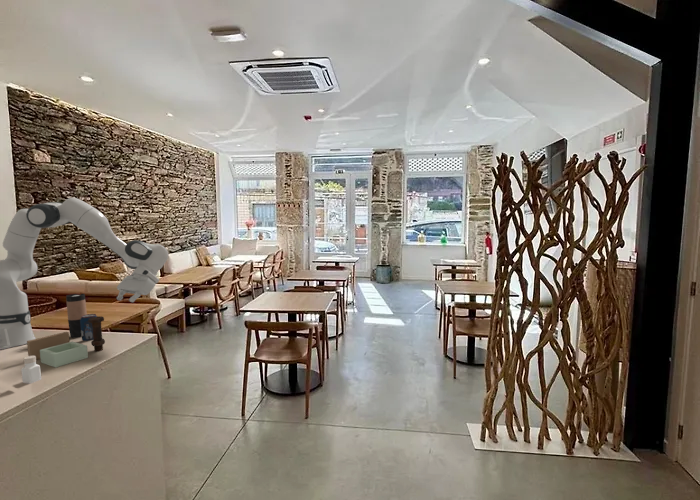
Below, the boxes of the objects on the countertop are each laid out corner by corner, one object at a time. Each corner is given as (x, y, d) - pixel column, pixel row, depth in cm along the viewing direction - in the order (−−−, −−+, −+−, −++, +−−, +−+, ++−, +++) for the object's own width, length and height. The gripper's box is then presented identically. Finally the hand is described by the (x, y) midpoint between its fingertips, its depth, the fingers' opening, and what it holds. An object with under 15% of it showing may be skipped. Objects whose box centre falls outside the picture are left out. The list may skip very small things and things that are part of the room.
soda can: (95, 337, 192) (93, 312, 191) (102, 339, 188) (100, 314, 187) (79, 341, 187) (77, 316, 185) (85, 344, 183) (83, 318, 181)
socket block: (88, 357, 161) (87, 345, 161) (55, 367, 151) (54, 354, 151) (73, 353, 167) (72, 341, 167) (40, 362, 157) (39, 349, 157)
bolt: (98, 355, 167) (95, 319, 165) (88, 354, 168) (85, 319, 166) (109, 350, 172) (106, 316, 171) (99, 350, 174) (96, 315, 172)
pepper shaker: (34, 380, 142) (31, 354, 141) (42, 382, 141) (39, 355, 140) (22, 385, 138) (19, 358, 137) (30, 386, 137) (27, 359, 136)
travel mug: (74, 338, 191) (70, 297, 189) (66, 336, 195) (62, 295, 193) (91, 334, 197) (88, 294, 195) (83, 332, 201) (80, 292, 199)
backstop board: (93, 359, 162) (91, 337, 161) (53, 372, 150) (51, 348, 149) (66, 351, 172) (64, 331, 172) (27, 362, 160) (25, 340, 159)
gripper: (125, 270, 190) (105, 294, 182) (152, 272, 179) (132, 298, 172) (135, 278, 194) (116, 302, 186) (161, 280, 183) (143, 306, 176)
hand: (124, 300), depth 179 cm, fingers open, 8 cm apart
